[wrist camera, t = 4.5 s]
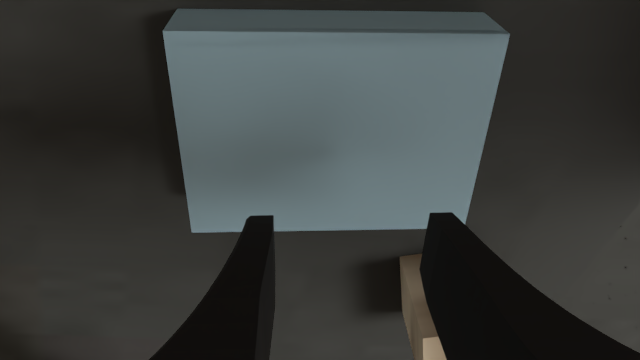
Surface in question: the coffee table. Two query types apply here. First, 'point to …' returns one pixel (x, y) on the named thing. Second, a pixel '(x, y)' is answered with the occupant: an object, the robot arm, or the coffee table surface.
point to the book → (331, 114)
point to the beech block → (418, 312)
